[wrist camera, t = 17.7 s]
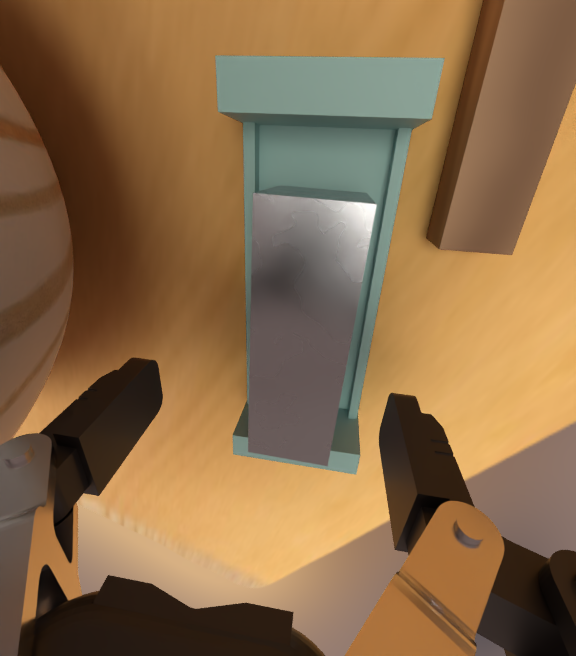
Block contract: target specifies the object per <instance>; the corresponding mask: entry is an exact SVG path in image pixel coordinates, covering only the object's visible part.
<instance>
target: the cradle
mask: <svg viewBox="0 0 576 656" xmlns="http://www.w3.org/2000/svg"><path fill="white" fill-rule="evenodd" d="M215 58H216V80H217V102H218V112H219V113H222V114H224V115H226V116H228V117H231V118H233V119H235V120H238V121H240V122H242V123H243V152H244V217H245V282H246V346H247V402H246V404H245V407H244V409H243V411H242V414H241V416H240V419H239V421H238V423H237V426H236V428H235V431H234V433H233V454H235V455H241V456H247V457H253V458H259V459H265V460H271V461H277V462H284V463H290V464H296V465H302V466H308V467H314V468H320V469H326V470H332V471H338V472H344V473H350V474H356V472H357V468H358V463H359V458H360V443H359V425H358V409H359V404H360V399H361V393H362V388H363V383H364V378H365V372H366V367H367V362H368V357H369V351H370V346H371V341H372V336H373V330H374V325H375V320H376V315H377V310H378V304H379V299H380V294H381V289H382V283H383V278H384V273H385V268H386V262H387V257H388V252H389V247H390V242H391V236H392V231H393V226H394V221H395V215H396V210H397V205H398V200H399V194H400V189H401V184H402V179H403V173H404V168H405V163H406V158H407V153H408V147H409V142H410V137H411V132H412V130H413V129H414V128H416V127H418V126H420V125H422V124H423V123H425V122H427V121H429V120H431V119H432V115H433V110H434V105H435V101H436V96H437V91H438V86H439V82H440V77H441V72H442V68H443V63H444V58H390V57H302V56H215ZM279 185H282V186H293V187H305V188H316V189H327V190H339V191H350V192H361V193H367V194H368V195H369V196H370V197H371V198H372V199H373V200H374V202H375V203H376V204H377V206H376V212H375V217H374V222H373V228H372V233H371V238H370V244H369V249H368V254H367V260H366V265H365V270H364V275H363V281H362V286H361V291H360V297H359V302H358V307H357V313H356V318H355V323H354V329H353V334H352V339H351V345H350V350H349V355H348V361H347V366H346V371H345V377H344V382H343V387H342V393H341V398H340V403H339V409H338V414H337V419H336V425H335V430H334V435H333V441H332V446H331V451H330V457H329V462H328V466H323V465H317V464H312V463H306V462H301V461H295V460H290V459H284V458H279V457H273V456H268V455H262V454H257V453H251V452H248V419H249V366H250V313H251V260H252V207H253V193H254V192H258V191H261V190H265V189H268V188H272V187H276V186H279Z"/></svg>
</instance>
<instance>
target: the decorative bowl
mask: <svg viewBox="0 0 576 656" xmlns="http://www.w3.org/2000/svg"><path fill="white" fill-rule="evenodd" d="M73 275H74V264H73V246H72V236H71V230H70V224H69V218H68V214H67V210H66V205H65V201H64V198H63V194H62V191H61V188H60V184H59V181H58V178H57V176H56V173H55V170H54V167H53V165H52V162H51V159H50V157H49V155H48V152H47V150H46V148H45V145H44V143H43V141H42V138H41V136H40V134H39V132H38V130H37V128H36V126H35V124H34V122H33V120H32V118H31V116H30V114H29V113H28V111H27V109H26V107H25V105H24V104H23V102H22V100H21V98H20V96H19V95H18V93H17V91H16V90H15V88H14V86H13V85H12V83H11V81H10V80H9V78H8V77H7V75H6V73H5V72H4V70H3V69H2V67H1V65H0V445H2V444H3V443H5V442H7V441H9V440H11V439H12V438H13V437H14V435H15V434H16V433H17V431H18V430H19V428H20V426H21V425H22V423H23V422H24V420H25V419H26V417H27V415H28V414H29V412H30V410H31V409H32V407H33V405H34V403H35V402H36V400H37V398H38V396H39V394H40V392H41V390H42V389H43V387H44V385H45V383H46V381H47V379H48V377H49V374H50V372H51V370H52V367H53V365H54V362H55V360H56V357H57V354H58V352H59V349H60V347H61V343H62V340H63V337H64V333H65V329H66V325H67V322H68V317H69V312H70V306H71V299H72V292H73Z"/></svg>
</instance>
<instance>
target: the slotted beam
mask: <svg viewBox="0 0 576 656" xmlns="http://www.w3.org/2000/svg"><path fill="white" fill-rule="evenodd" d="M575 84H576V0H484V1H483V5H482V9H481V13H480V17H479V22H478V26H477V30H476V34H475V38H474V42H473V47H472V51H471V55H470V59H469V63H468V67H467V71H466V76H465V80H464V84H463V88H462V92H461V96H460V100H459V105H458V109H457V113H456V117H455V121H454V125H453V130H452V134H451V138H450V142H449V146H448V150H447V154H446V159H445V163H444V167H443V171H442V175H441V179H440V184H439V188H438V192H437V196H436V200H435V204H434V208H433V213H432V217H431V221H430V225H429V229H428V233H427V239H428V240H429V241H430V242H431V243H432V244H434V245H435V246H436V247H437V248H438V249H441V250H454V251H466V252H479V253H492V254H504V255H512V254H513V251H514V248H515V246H516V243H517V240H518V237H519V235H520V232H521V229H522V227H523V224H524V221H525V219H526V216H527V213H528V210H529V208H530V205H531V202H532V200H533V197H534V194H535V192H536V189H537V186H538V183H539V181H540V178H541V175H542V173H543V170H544V167H545V165H546V162H547V159H548V156H549V154H550V151H551V148H552V146H553V143H554V140H555V138H556V135H557V132H558V129H559V127H560V124H561V121H562V119H563V116H564V113H565V111H566V108H567V105H568V103H569V100H570V97H571V94H572V92H573V89H574V86H575Z"/></svg>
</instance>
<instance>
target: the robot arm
mask: <svg viewBox="0 0 576 656" xmlns="http://www.w3.org/2000/svg"><path fill="white" fill-rule="evenodd" d="M162 399H163V394H162V388H161V381H160V375H159V368H158V364H157V362H156V361H155V360H149V359H141V358H131V359H130V360H128V361H127V362H126V363H125V364H124V365H123V366H122V367H121V368H120V369H119V370H114V371H112V372H110V373H108V374H106V375H104V376H102V377H101V378H99V379H98V380H97V381H96V382H95V383H94V384H93V385H91V386H90V387H89V388H88V391H85V392H84V393H83V394H82V395H81V396H79V399H78V400H77V399H76V400H75V401H74V402H73V403H72V404H71V405H70V406H69V407H67V408H66V409H65V410H64V411H63V412H62V413H61V414H60V415H59V416H58V417H57V418H55V419H54V420H53V421H52V422H51V423H50V424H49V425H48V426H47V427H46V428H45V429H43V430H42V431H41V432H40V433H39V434H38V433H34V434H26V435H22V436H19V437H16V438H13V439H11V440H9V441H7V442H5V443H3V444H2V445H0V656H325V655H324V654H323V652H322V651H321V650H320V649H319V648H318V647H317V646H316V645H315V644H314V643H313V642H312V641H311V640H309V639H308V638H307V637H306V636H305V635H303V634H302V633H300V632H299V631H297V630H295V629H294V628H292V621H293V612H289V611H285V610H280V609H274V608H270V607H264V606H260V605H255V604H249V603H241V604H233V605H225V606H216V607H208V608H200V609H194V608H190V607H188V606H187V605H185V604H183V603H182V602H180V601H178V600H177V599H175V598H174V597H172V596H170V595H169V594H167V593H166V592H164V591H162V590H161V589H159V588H158V587H156V586H154V585H153V584H150V583H144V582H140V581H134V580H130V579H125V578H120V577H115V576H109V575H108V576H107V578H106V580H105V582H104V583H103V585H102V587H101V589H100V591H96V592H92V593H88V594H84V595H82V592H81V586H80V582H79V577H78V506H77V503H76V502H77V501H78V500H79V498H80V497H81V496H82V494H83V493H85V494H91V495H97V496H99V495H100V494H101V492H102V491H103V490H104V488H105V487H106V485H107V484H108V482H109V481H110V480H111V478H112V477H113V475H114V474H115V473H116V471H117V470H118V468H119V467H120V466H121V464H122V463H123V461H124V460H125V459H126V457H127V456H128V454H129V453H130V451H131V450H132V449H133V447H134V446H135V444H136V443H137V442H138V440H139V439H140V437H141V436H142V435H143V433H144V432H145V430H146V429H147V428H148V426H149V425H150V423H151V422H152V420H153V419H154V418H155V416H156V415H157V413H158V412H159V410H160V408H161V405H162ZM379 447H380V454H381V461H382V468H383V474H384V481H385V488H386V494H387V501H388V508H389V514H390V521H391V528H392V534H393V541H394V548H395V550H398V551H404V552H408V555H409V556H408V558H407V560H406V561H405V563H404V565H403V566H402V568H401V569H400V571H399V572H397V573H396V574H395V575H394V577H393V579H392V580H391V581H390V583H389V584H388V586H387V588H386V589H385V591H384V593H383V594H382V596H381V597H380V599H379V601H378V602H377V604H376V606H375V607H374V609H373V610H372V612H371V614H370V615H369V617H368V619H367V620H366V622H365V623H364V625H363V627H362V628H361V630H360V632H359V633H358V635H357V636H356V638H355V640H354V641H353V643H352V645H351V646H350V648H349V649H348V651H347V653H346V654H345V656H475V653H476V643H475V642H474V639H475V635H476V633H478V634H480V635H481V636H483V637H485V638H487V639H489V640H490V641H492V642H494V643H495V644H497V645H499V646H500V647H502V648H504V650H505V653H506V656H576V552H574V551H570V550H560V551H557V552H555V553H554V554H553V555H552V556H551V557H550V558H549V559H548V558H546V557H543V556H541V555H539V554H537V553H535V552H533V551H530V550H528V549H526V548H524V547H522V546H519V545H517V544H515V543H513V542H511V541H509V540H507V539H506V538H504V537H502V536H501V534H500V532H499V531H498V529H497V528H496V526H495V525H494V524H493V522H492V521H491V520H490V519H489V518H488V517H487V516H486V515H485V514H484V513H482V512H481V511H479V510H478V509H476V508H475V506H474V505H473V502H472V499H471V497H470V494H469V492H468V489H467V487H466V485H465V482H464V479H463V477H462V474H461V472H460V469H459V467H458V464H457V462H456V459H455V457H453V452H452V449H451V447H450V445H449V444H448V439H447V437H446V434H445V432H444V429H443V427H442V426H441V425H440V424H439V423H438V422H437V420H436V419H435V418H434V417H433V416H432V415H431V414H424V413H421V410H420V407H419V404H418V401H417V399H416V397H415V396H411V395H403V394H396V393H391V394H390V395H389V397H388V401H387V405H386V408H385V412H384V416H383V419H382V423H381V427H380V432H379Z"/></svg>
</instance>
